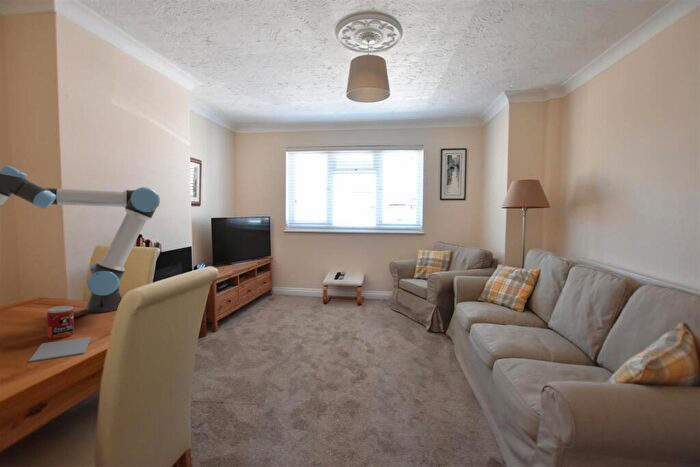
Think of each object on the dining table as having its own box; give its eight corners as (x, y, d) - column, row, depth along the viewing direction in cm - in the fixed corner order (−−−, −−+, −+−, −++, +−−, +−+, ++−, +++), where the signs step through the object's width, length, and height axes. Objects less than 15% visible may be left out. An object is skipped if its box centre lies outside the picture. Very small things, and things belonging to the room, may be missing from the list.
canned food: (51, 341, 122) (51, 312, 121) (44, 336, 126) (44, 308, 125) (77, 335, 128) (76, 307, 128) (69, 330, 132) (69, 304, 132)
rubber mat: (41, 344, 118) (41, 343, 118) (90, 338, 126) (90, 337, 125) (28, 362, 104) (28, 360, 104) (84, 353, 112) (84, 352, 112)
